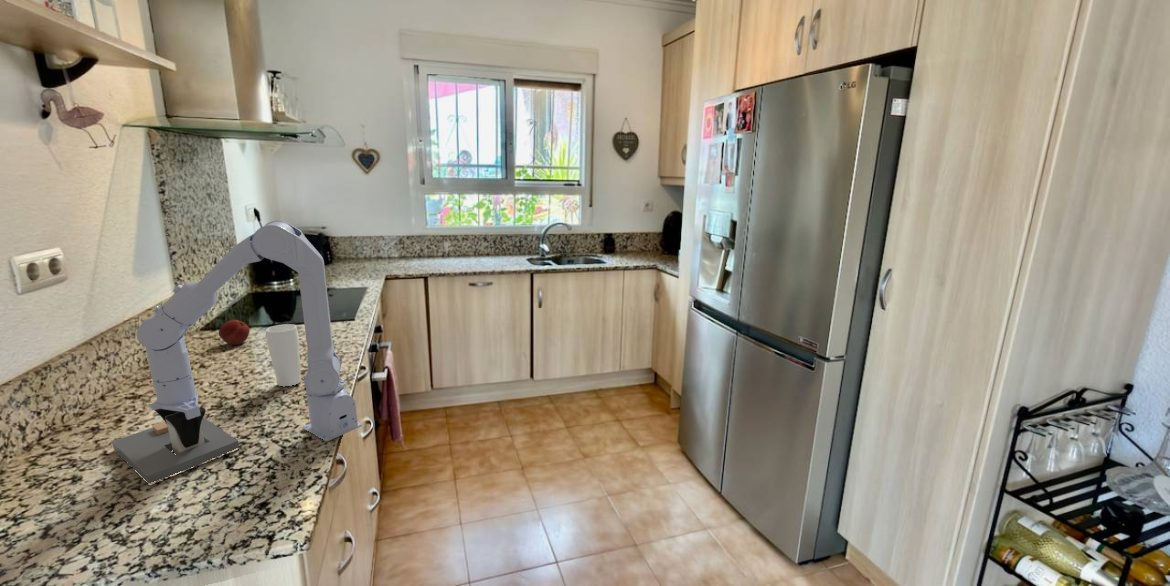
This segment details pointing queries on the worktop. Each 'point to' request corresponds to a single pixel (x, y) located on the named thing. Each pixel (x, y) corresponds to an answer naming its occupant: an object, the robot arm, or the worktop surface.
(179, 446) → the plug
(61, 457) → the worktop surface
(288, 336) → the drinking glass
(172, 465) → the socket plate
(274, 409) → the worktop surface
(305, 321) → the robot arm
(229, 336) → the apple
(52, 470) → the worktop surface
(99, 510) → the worktop surface
